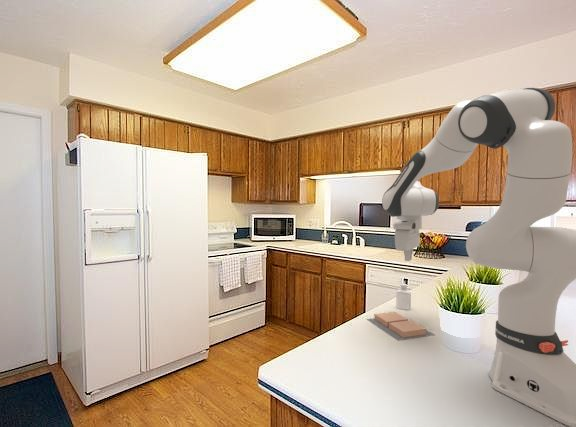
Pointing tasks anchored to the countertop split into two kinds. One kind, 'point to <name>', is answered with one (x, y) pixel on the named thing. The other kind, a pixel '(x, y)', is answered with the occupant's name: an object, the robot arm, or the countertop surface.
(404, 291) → the eye dropper bottle
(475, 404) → the countertop surface
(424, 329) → the tile
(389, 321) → the tile
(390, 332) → the mat
